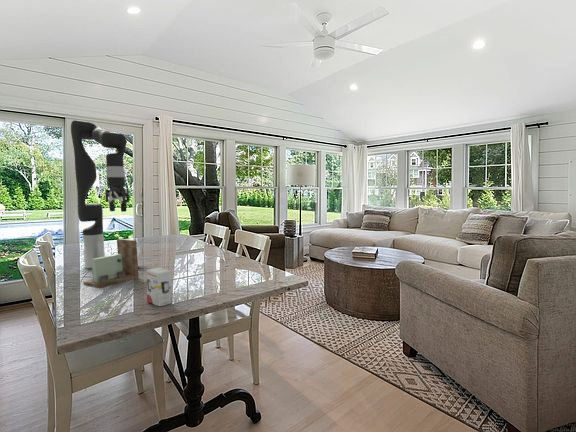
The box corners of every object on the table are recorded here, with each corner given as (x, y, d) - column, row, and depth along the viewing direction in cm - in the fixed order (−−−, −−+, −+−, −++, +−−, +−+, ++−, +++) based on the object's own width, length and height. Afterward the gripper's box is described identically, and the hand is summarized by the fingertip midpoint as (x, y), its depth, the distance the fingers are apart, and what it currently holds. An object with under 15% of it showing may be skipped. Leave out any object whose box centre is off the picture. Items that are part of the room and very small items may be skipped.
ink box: (146, 302, 122) (144, 269, 121) (159, 298, 126) (158, 267, 125) (159, 307, 116) (157, 273, 115) (172, 303, 120) (171, 270, 119)
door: (93, 282, 145) (91, 259, 144) (119, 275, 155) (118, 253, 154) (98, 283, 143) (96, 259, 142) (124, 276, 153) (122, 254, 152)
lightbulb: (135, 267, 175) (134, 246, 174) (125, 267, 176) (123, 246, 175) (143, 264, 181) (142, 244, 180) (132, 264, 182) (131, 244, 181)
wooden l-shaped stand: (83, 284, 146) (80, 244, 144) (122, 274, 162) (119, 238, 160) (100, 288, 140) (97, 246, 138) (138, 277, 156) (136, 240, 154)
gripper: (132, 176, 157) (134, 211, 159) (113, 177, 164) (116, 210, 166) (117, 176, 151) (120, 212, 152) (98, 176, 158) (101, 211, 159)
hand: (118, 211), depth 159 cm, fingers open, 8 cm apart
